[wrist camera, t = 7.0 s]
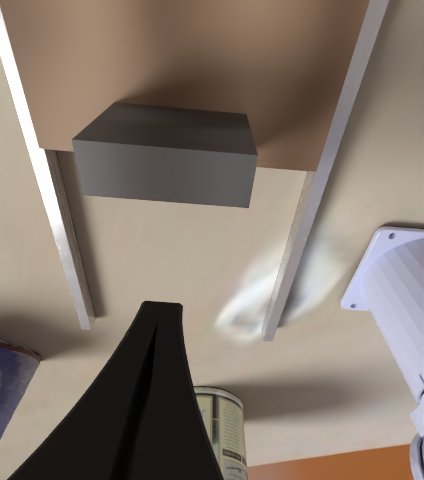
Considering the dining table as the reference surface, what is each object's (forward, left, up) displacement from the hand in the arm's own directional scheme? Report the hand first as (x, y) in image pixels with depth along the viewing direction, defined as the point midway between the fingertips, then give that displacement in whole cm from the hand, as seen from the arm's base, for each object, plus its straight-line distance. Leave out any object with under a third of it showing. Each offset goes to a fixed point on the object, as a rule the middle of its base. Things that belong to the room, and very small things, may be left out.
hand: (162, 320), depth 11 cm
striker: (0, -7, -10) cm, 12 cm away
